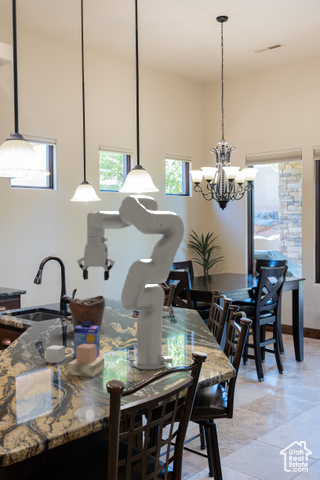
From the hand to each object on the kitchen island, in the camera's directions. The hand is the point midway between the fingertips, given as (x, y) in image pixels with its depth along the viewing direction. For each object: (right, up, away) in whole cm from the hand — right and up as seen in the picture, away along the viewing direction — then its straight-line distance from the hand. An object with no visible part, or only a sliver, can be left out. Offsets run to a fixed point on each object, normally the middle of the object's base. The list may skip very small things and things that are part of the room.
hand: (95, 279), depth 210 cm
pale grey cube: (-14, -31, -18) cm, 38 cm away
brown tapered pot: (-9, -30, +37) cm, 48 cm away
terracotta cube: (+1, -27, -33) cm, 43 cm away
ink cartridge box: (-2, -31, -11) cm, 33 cm away
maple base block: (+1, -31, -33) cm, 45 cm away
